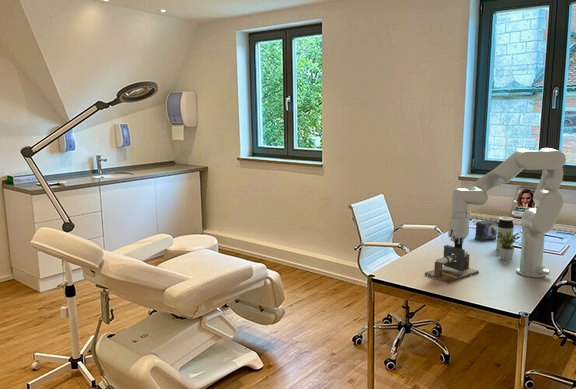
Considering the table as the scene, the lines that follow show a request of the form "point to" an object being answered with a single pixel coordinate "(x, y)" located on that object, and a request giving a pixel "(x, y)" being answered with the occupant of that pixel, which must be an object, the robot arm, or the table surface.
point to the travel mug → (504, 228)
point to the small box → (486, 230)
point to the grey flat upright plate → (459, 257)
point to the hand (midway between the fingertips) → (458, 251)
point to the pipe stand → (451, 269)
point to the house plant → (507, 245)
